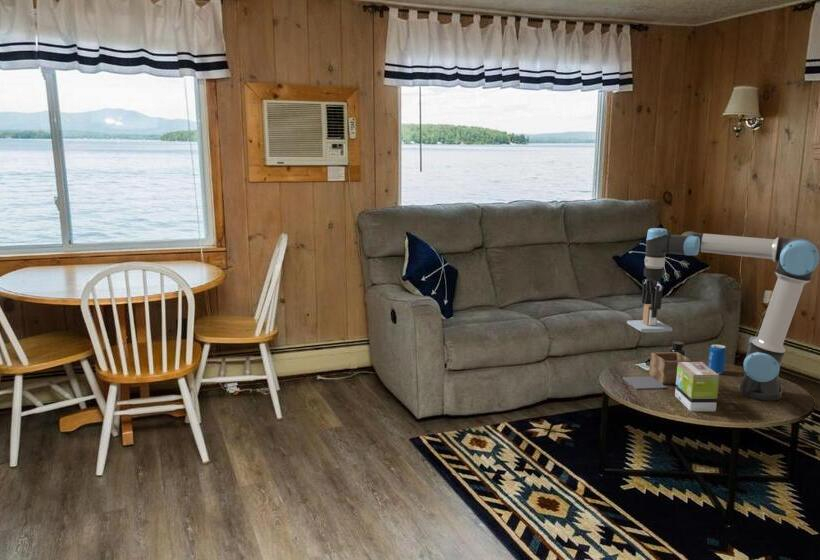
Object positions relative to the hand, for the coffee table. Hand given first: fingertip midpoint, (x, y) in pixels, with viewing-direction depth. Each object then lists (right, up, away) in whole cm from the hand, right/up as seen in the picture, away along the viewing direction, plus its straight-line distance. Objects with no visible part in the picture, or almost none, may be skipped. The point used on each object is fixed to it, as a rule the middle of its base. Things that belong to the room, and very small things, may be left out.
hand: (649, 323), depth 263 cm
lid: (0, -2, 0) cm, 2 cm away
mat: (0, -25, +5) cm, 26 cm away
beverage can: (+36, -23, +20) cm, 47 cm away
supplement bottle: (+21, -22, +24) cm, 39 cm away
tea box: (+11, -30, -16) cm, 36 cm away
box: (+12, -24, +10) cm, 29 cm away
